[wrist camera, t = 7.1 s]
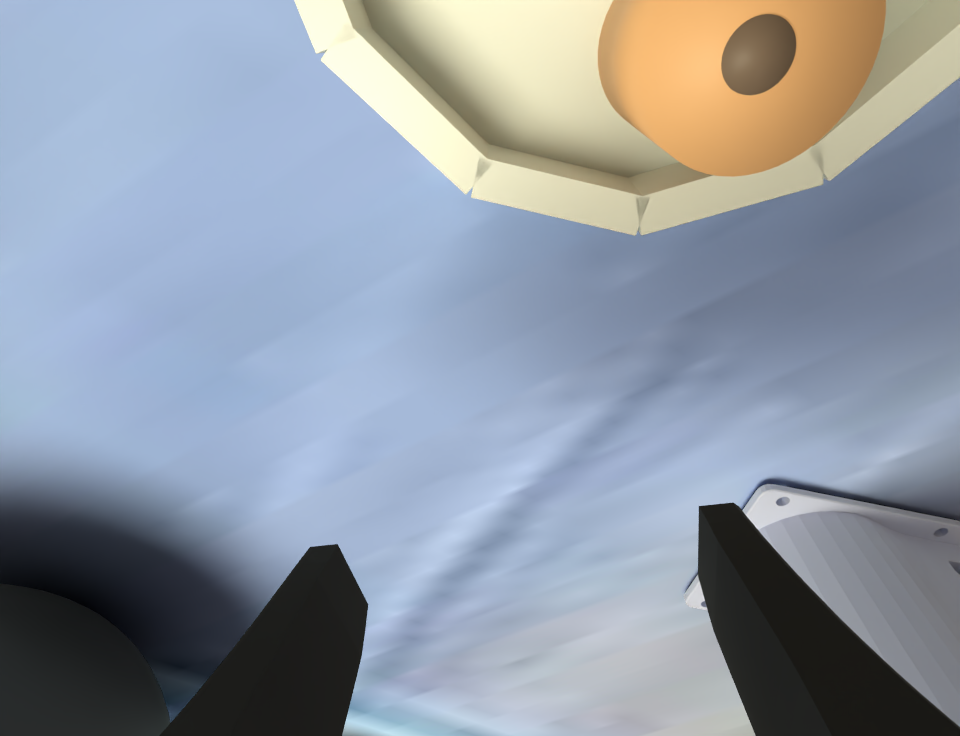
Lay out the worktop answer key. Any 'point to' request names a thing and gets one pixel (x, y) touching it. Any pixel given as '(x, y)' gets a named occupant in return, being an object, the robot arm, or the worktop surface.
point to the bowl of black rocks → (71, 672)
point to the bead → (737, 74)
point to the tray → (586, 104)
